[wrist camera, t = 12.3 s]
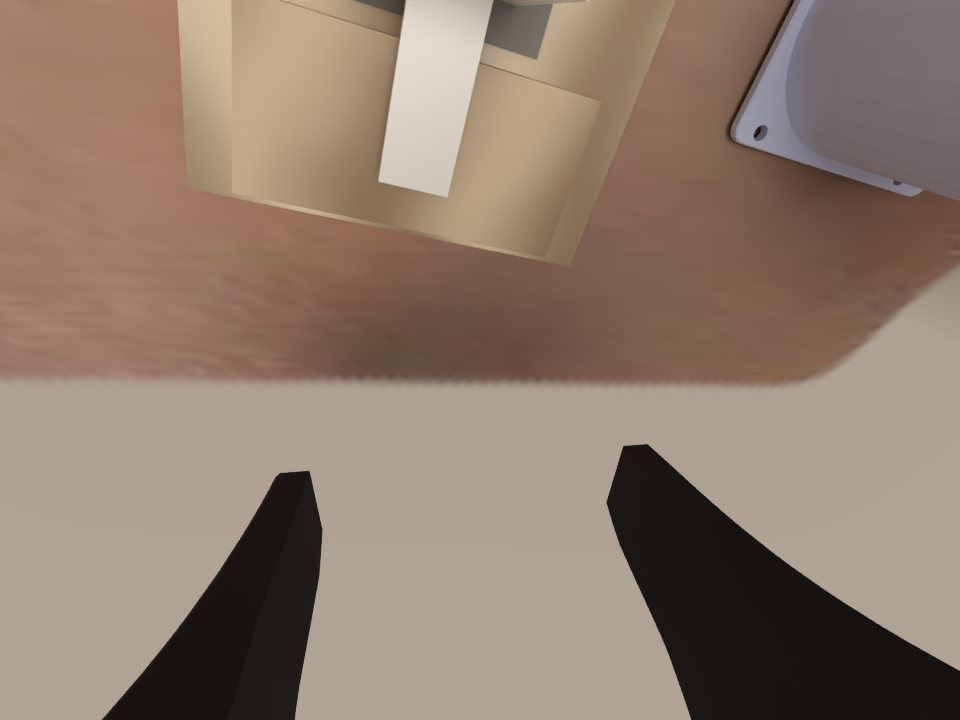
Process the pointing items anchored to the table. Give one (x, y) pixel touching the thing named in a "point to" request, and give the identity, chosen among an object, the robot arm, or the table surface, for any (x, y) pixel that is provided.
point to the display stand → (365, 103)
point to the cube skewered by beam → (434, 90)
